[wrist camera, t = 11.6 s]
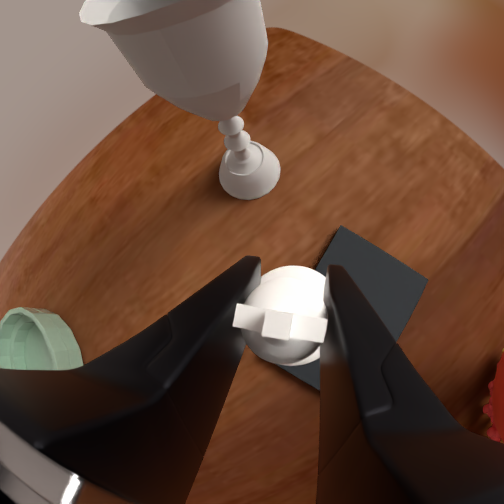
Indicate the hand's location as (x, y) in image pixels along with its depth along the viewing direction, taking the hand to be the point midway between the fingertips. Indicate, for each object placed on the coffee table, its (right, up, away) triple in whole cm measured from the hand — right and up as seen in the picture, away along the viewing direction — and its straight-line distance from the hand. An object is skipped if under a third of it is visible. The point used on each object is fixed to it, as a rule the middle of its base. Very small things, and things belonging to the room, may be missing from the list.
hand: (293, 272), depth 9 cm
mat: (+6, -4, +12) cm, 14 cm away
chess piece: (+1, -3, +6) cm, 6 cm away
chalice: (-1, +7, +15) cm, 17 cm away
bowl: (-22, -11, +15) cm, 29 cm away
